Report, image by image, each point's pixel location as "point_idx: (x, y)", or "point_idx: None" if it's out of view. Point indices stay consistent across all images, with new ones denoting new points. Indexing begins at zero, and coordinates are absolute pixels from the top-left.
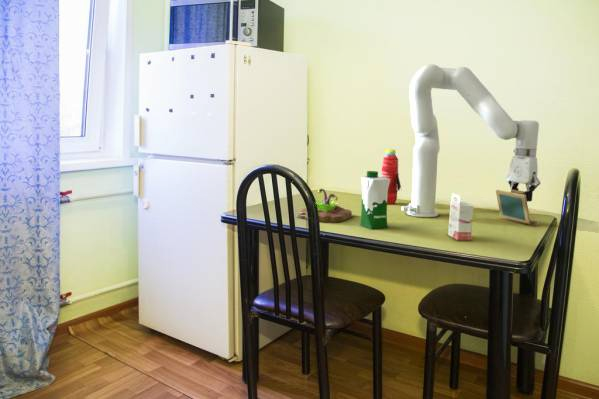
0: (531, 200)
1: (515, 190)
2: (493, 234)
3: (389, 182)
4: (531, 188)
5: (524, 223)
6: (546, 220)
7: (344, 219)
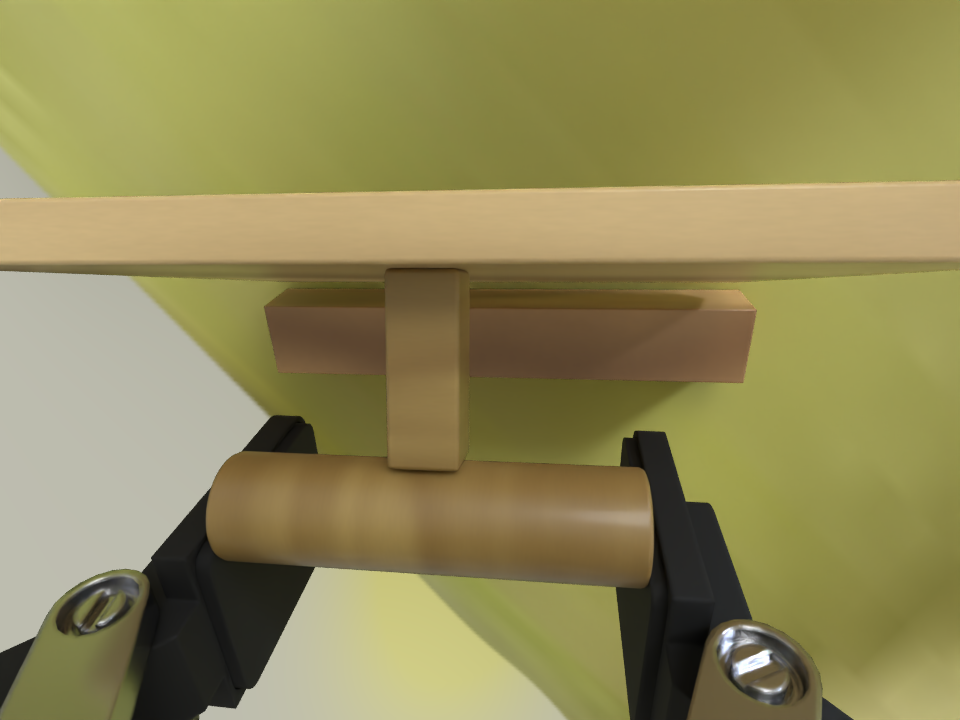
0: None
1: (497, 527)
2: None
3: None
4: (4, 668)
5: None
6: (473, 593)
7: None
